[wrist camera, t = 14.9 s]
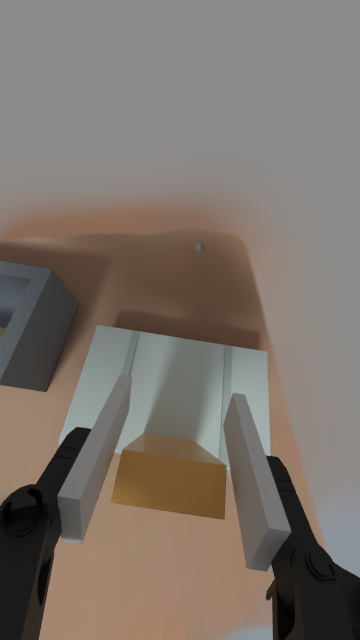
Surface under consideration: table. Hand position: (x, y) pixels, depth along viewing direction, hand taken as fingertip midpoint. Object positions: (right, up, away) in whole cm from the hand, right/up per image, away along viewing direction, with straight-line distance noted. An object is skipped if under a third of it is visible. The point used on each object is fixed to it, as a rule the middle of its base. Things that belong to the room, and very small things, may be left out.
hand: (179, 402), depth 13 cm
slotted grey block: (-1, -3, +10) cm, 11 cm away
